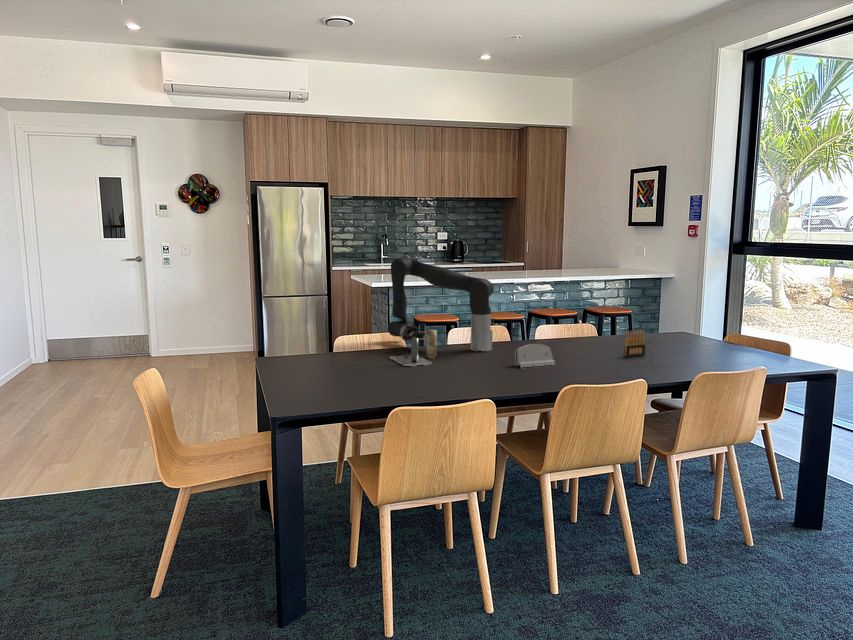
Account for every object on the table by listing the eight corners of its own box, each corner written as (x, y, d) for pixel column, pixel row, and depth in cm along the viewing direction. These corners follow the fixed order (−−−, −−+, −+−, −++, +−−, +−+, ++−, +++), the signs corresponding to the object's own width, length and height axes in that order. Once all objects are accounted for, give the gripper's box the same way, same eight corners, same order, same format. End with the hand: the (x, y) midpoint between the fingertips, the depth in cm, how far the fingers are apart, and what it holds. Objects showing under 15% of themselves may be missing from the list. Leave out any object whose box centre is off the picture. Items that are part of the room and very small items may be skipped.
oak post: (434, 356, 278) (434, 329, 277) (438, 358, 274) (438, 331, 273) (425, 356, 276) (425, 330, 275) (429, 358, 272) (429, 331, 271)
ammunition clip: (626, 357, 276) (627, 330, 275) (623, 356, 278) (624, 330, 276) (645, 355, 280) (646, 329, 279) (642, 355, 282) (643, 328, 280)
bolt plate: (415, 356, 277) (415, 332, 275) (431, 364, 260) (432, 338, 259) (390, 358, 272) (390, 334, 270) (405, 367, 256) (405, 340, 254)
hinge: (520, 368, 254) (517, 344, 256) (515, 370, 258) (511, 346, 260) (556, 365, 259) (552, 341, 261) (550, 367, 264) (546, 343, 266)
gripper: (396, 326, 295) (408, 331, 280) (424, 324, 300) (437, 329, 285) (396, 341, 296) (408, 347, 281) (424, 339, 301) (437, 345, 286)
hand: (423, 338), depth 283 cm, fingers open, 8 cm apart
